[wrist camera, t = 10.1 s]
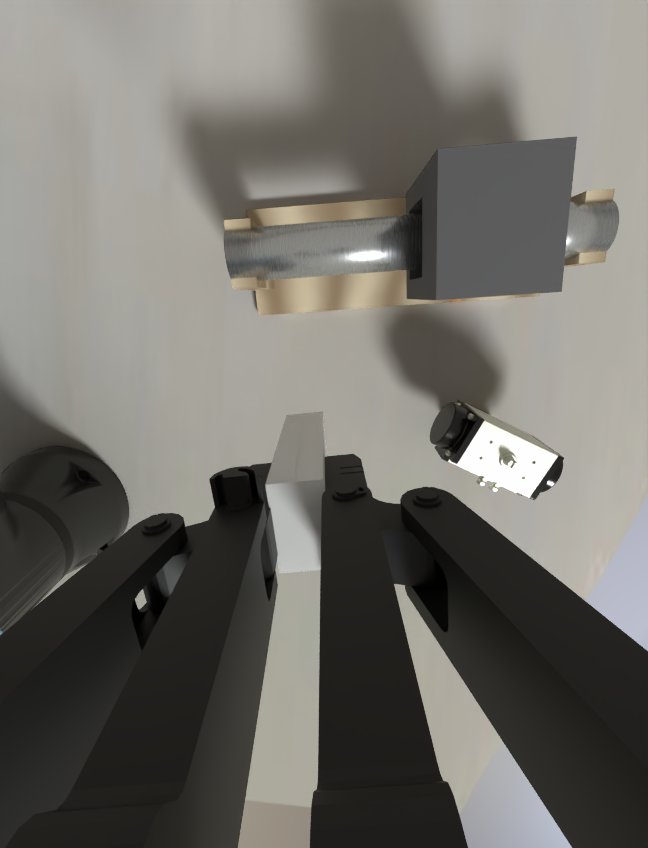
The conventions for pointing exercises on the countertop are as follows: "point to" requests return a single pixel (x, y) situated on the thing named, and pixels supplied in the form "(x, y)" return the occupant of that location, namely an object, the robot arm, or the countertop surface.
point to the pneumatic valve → (495, 450)
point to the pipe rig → (353, 287)
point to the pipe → (376, 244)
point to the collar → (492, 219)
